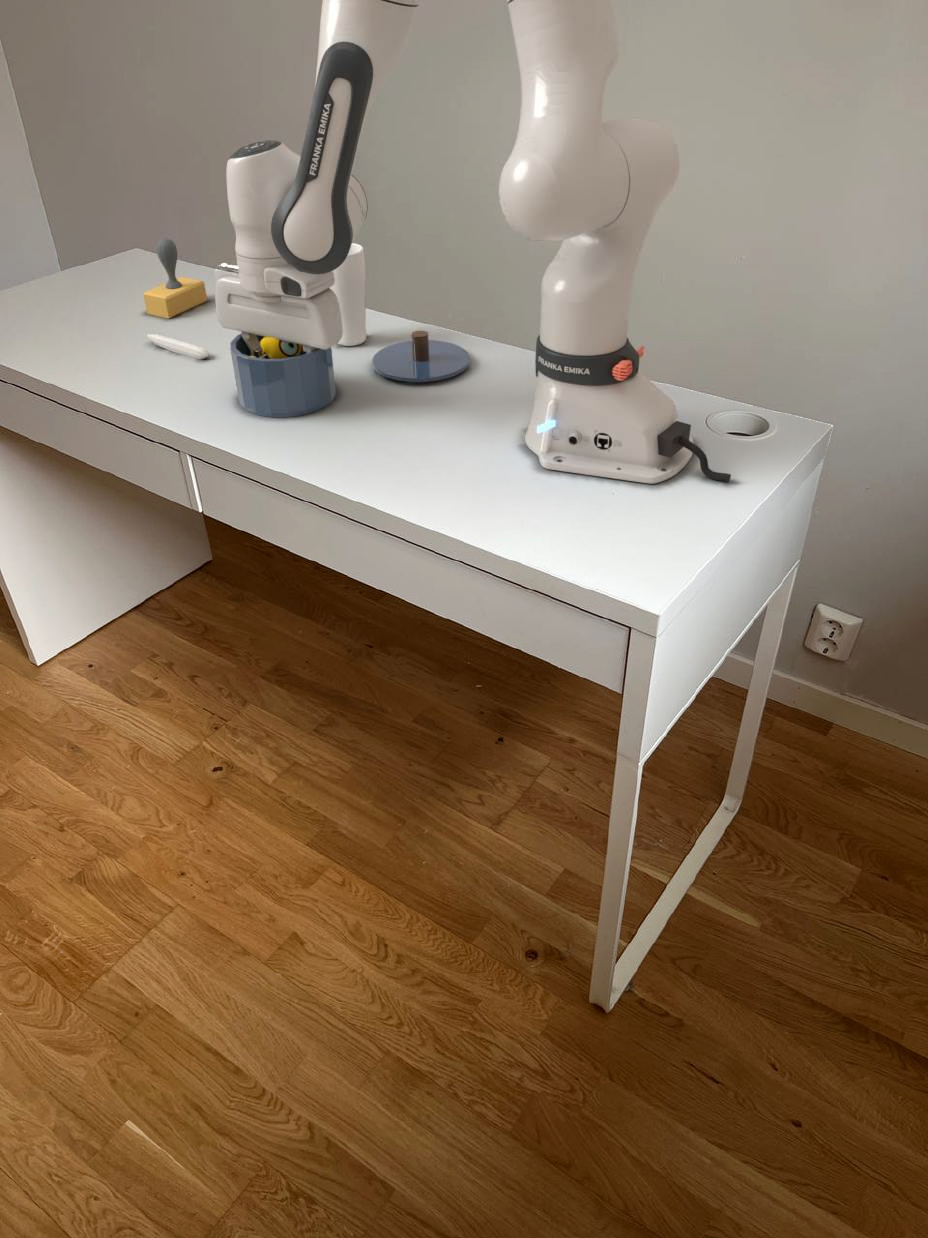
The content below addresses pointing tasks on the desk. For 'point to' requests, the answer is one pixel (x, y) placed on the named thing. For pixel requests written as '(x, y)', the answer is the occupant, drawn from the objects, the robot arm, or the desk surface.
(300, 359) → the pot
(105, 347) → the desk surface
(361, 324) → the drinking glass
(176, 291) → the rubber stamp
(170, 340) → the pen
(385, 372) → the lid
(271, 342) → the duckling
